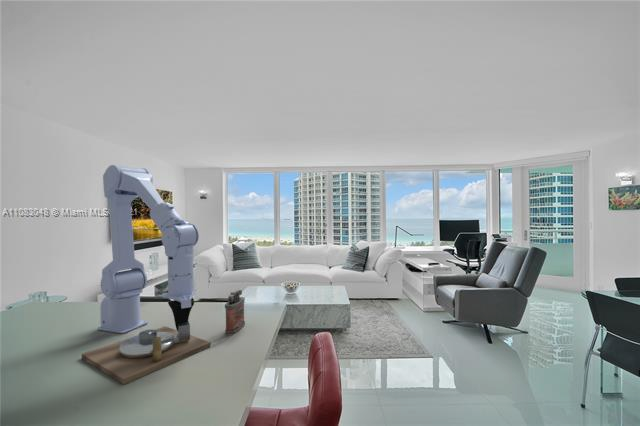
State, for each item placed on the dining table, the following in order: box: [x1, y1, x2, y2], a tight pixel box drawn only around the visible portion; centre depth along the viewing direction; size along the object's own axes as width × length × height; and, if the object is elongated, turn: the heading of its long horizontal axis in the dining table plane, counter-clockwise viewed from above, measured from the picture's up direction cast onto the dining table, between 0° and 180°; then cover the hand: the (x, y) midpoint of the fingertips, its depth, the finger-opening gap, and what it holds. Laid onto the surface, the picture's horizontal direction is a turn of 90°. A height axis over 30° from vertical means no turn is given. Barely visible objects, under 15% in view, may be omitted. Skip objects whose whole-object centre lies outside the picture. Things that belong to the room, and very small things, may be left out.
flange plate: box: [120, 320, 191, 358], centre depth 72 cm, size 11×14×4 cm
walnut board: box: [81, 325, 211, 385], centre depth 72 cm, size 19×19×6 cm
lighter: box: [224, 289, 246, 336], centre depth 85 cm, size 8×3×10 cm, turn 168°
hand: (181, 329), depth 76 cm, fingers closed, pressing on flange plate
